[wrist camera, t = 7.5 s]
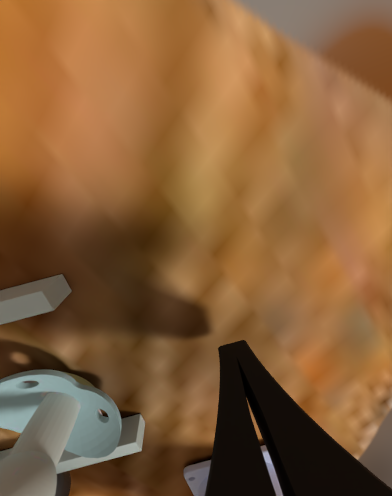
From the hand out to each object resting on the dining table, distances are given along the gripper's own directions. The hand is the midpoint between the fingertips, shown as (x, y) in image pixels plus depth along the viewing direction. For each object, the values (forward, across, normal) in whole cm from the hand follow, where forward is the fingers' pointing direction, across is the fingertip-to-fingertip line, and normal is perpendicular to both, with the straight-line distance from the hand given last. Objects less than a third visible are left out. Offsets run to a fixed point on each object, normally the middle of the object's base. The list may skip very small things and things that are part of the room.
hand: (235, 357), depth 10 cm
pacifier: (+2, +11, +2) cm, 11 cm away
